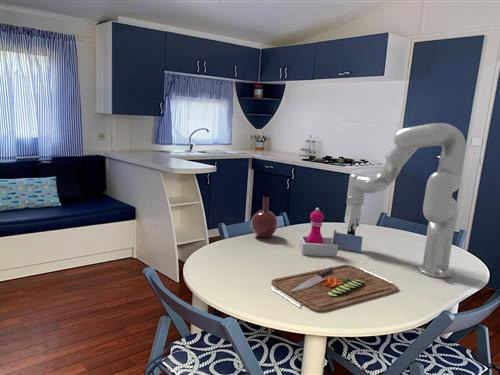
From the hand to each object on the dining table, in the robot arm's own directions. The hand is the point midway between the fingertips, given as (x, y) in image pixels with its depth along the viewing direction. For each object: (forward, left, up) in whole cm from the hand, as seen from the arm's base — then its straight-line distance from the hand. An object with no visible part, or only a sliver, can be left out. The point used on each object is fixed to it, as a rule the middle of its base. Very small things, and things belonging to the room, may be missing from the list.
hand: (350, 239), depth 194 cm
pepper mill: (-6, +18, -5) cm, 19 cm away
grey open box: (-6, +16, -5) cm, 17 cm away
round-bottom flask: (+12, +40, -5) cm, 42 cm away
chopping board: (-45, +17, -5) cm, 48 cm away
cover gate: (-2, +2, -4) cm, 5 cm away
